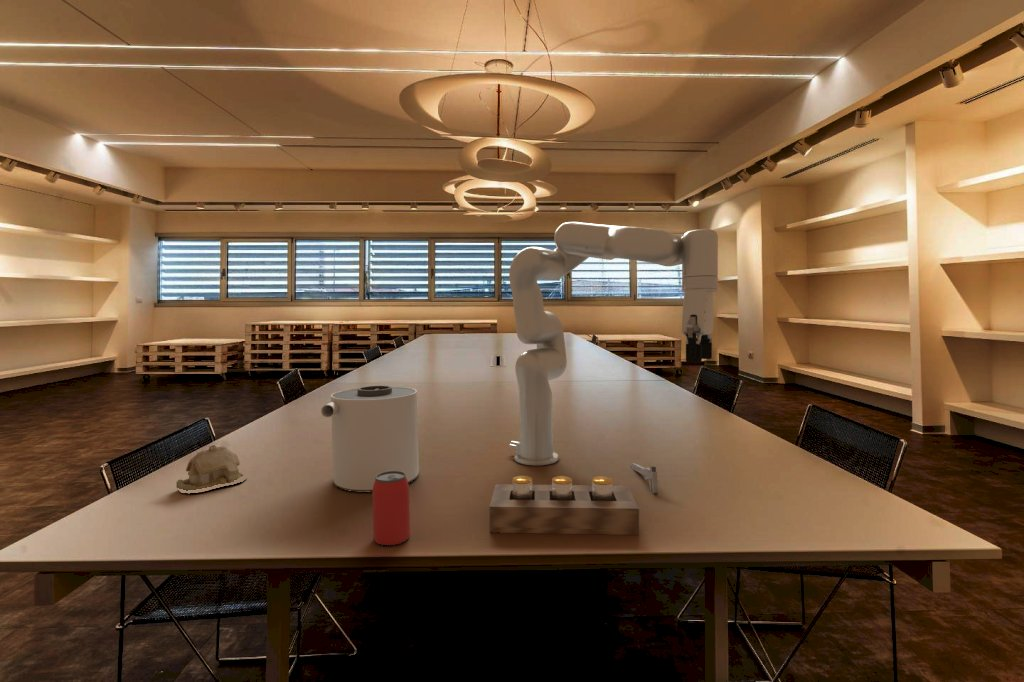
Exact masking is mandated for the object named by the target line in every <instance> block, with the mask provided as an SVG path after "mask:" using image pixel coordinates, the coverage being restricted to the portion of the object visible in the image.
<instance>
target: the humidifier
mask: <svg viewBox="0 0 1024 682" xmlns="http://www.w3.org/2000/svg"><path fill="white" fill-rule="evenodd" d="M320 413H321V415H322V416H323V417H325V418H326V419H327V418H331V437H332V438H331V442H332V443H331V445H332V472H333V473H332V475H333V484H334V486H335V487H336V488H338V487H339V488H338V489H340V488H342V489H346V490H351V491H372V490H373V484H374V482H375V476H376V475H378V474H380V473H383V472H387V471H401V472H404V473H405V474H406V478H407V481H408V483H409V484H410V482H411V483H413V482H414V481H416V479H417V478H418V477H419V473H420V470H419V469H420V467H419V466H420V464H419V462H420V461H419V423H418V417H419V416H418V390H417V389H416V388H413V387H408V386H406V387H405V386H389V385H366V386H361V387H358V388H352V389H351V388H350V389H344V390H341V391H336V392H333V393H331V395H330V402H328V403H327V404H324V405H323V406H322V407H321V409H320ZM413 480H414V481H413ZM342 489H341V490H342Z"/></svg>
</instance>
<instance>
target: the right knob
mask: <svg viewBox="0 0 1024 682" xmlns="http://www.w3.org/2000/svg"><path fill="white" fill-rule="evenodd" d="M591 485H592V501H612V485H613V479H612V478H611V477H607V476H601V475H600V476H594V477H592V479H591Z"/></svg>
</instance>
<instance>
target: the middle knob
mask: <svg viewBox="0 0 1024 682" xmlns="http://www.w3.org/2000/svg"><path fill="white" fill-rule="evenodd" d="M551 485H552V500H568V501H572V485H573V479H572V477H569V476H565V475H557V476H554V477H552V479H551Z"/></svg>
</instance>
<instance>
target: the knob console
mask: <svg viewBox="0 0 1024 682" xmlns="http://www.w3.org/2000/svg"><path fill="white" fill-rule="evenodd" d="M497 532H500V533H501V534H502V533H503V534H505V533H506V534H508V533H509V534H561V535H562V534H564V535H565V534H567V535H568V534H569V535H577V534H578V535H622V536H623V535H624V536H625V535H628V536H639V535H640V508H639V506H638V504H637V502H636V499H635V497H634V496H633V494H632V492H631V490H630V488H629V486H628V485H613V484H612V501H592V484H591V485H589V484H572V501H568V500H552V484H532V500H513V490H512V484H511V483H508V484H507V483H506V484H504V483H502V484H501V483H500V484H499V483H498V484H497V483H495V486H494V489H493V493H492V497H491V500H490V503H489V533H497ZM497 534H498V533H497Z"/></svg>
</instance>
